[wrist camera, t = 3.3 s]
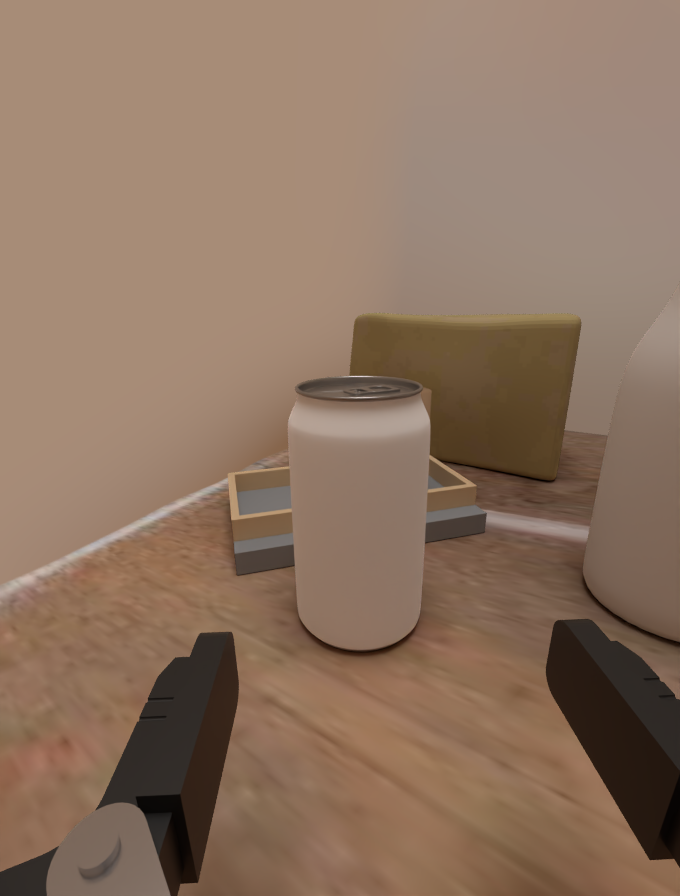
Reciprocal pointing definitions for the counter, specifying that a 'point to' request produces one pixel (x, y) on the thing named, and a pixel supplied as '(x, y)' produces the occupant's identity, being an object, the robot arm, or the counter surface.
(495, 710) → the counter surface
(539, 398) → the cheese
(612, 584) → the milk bottle
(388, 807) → the counter surface
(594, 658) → the robot arm
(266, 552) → the socket board
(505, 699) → the counter surface
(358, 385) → the can
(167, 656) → the counter surface
